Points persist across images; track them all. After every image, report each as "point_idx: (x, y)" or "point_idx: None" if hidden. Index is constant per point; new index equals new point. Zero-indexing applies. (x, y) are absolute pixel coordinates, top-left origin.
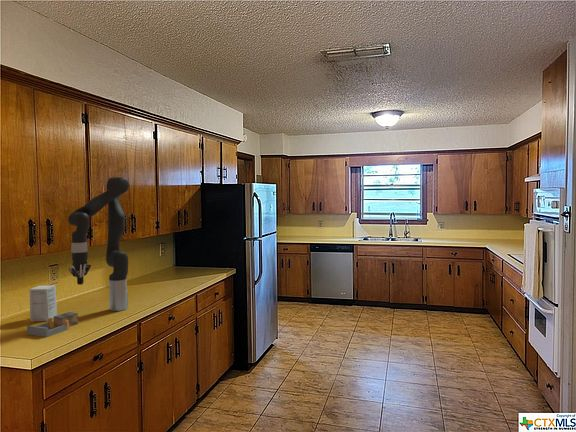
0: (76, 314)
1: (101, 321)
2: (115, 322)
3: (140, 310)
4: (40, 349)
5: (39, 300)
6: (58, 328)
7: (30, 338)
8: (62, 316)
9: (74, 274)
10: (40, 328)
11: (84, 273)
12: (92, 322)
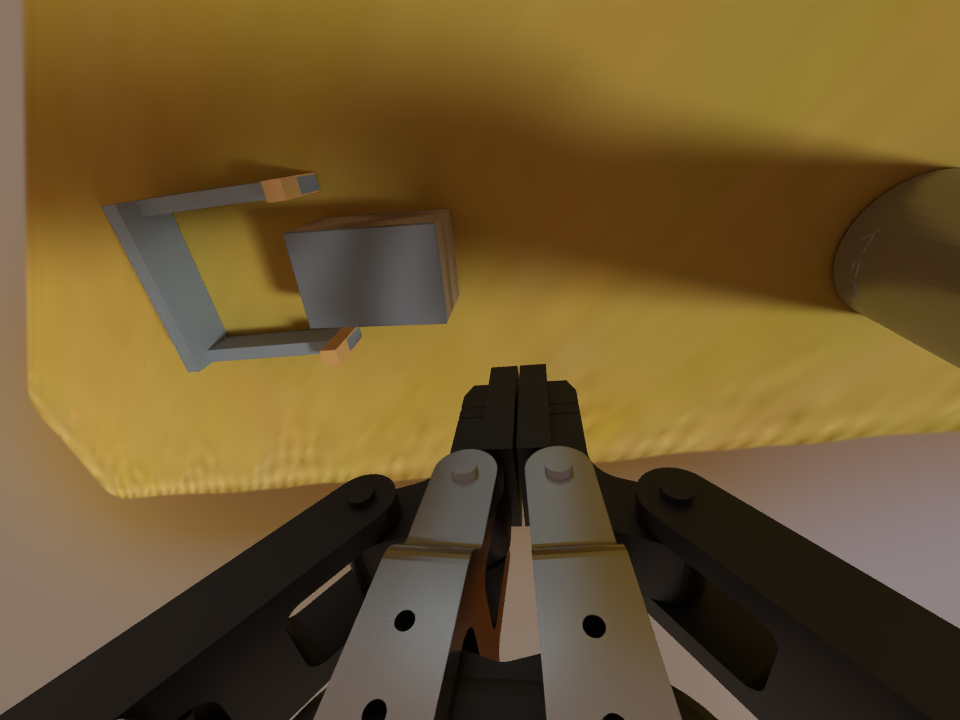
0: (434, 320)
1: None
2: None
3: (884, 421)
4: (156, 455)
5: None
6: (280, 353)
7: None
8: (327, 298)
9: (342, 542)
10: (169, 327)
11: (641, 591)
12: (521, 352)
